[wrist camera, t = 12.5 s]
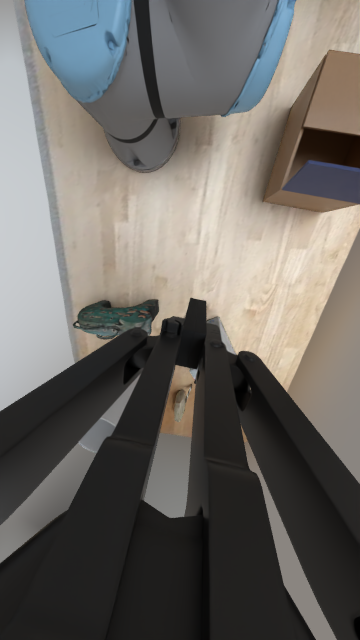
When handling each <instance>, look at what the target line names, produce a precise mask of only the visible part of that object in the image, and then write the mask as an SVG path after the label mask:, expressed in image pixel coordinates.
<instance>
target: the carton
mask: <svg viewBox="0 0 360 640" xmlns="http://www.w3.org/2000/svg"><path fill="white" fill-rule="evenodd" d="M308 160H313V161H319V162H325V163H331V164H337V165H342V166H348V167H354V168H360V54H356V53H349V52H341V51H334V50H329V51H328V53H327V55H325V56H324V58H323V59H322V61H321V62H320V64H319V65H318V67H317V69H316V70H315V72H314V73H313V75H312V76H311V78H310V79H309V81H308V82H307V84H306V86H305V87H304V89H303V90H302V92H301V93H300V95H299V96H298V98H297V99H296V101H295V103H294V104H293V106H292V107H291V111H290V114H289V117H288V120H287V124H286V127H285V130H284V133H283V137H282V140H281V143H280V146H279V149H278V153H277V156H276V159H275V162H274V166H273V169H272V172H271V175H270V179H269V182H268V185H267V188H266V192H265V195H264V198H263V202H267V203H272V204H278V205H284V206H289V207H295V208H300V209H306V210H311V211H317V212H322V213H323V212H328V211H332V210H336V209H341V208H345V207H350V206H354V205H358V204H357V203H352V202H346V201H340V200H335V199H329V198H324V197H318V196H312V195H307V194H301V193H295V192H290V191H284V190H282V187H283V186H284V185H285V184H286V183H287V182H288V181H289V180H290V179H291V178H292V177H293V176H294V175H295V174H296V173H297V172H298V171H299V170H300V169H301V168H302V167H303V165H304V164H305V163H306V162H307V161H308Z"/></svg>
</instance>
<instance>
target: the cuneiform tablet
mask: <svg viewBox="0 0 360 640" xmlns="http://www.w3.org/2000/svg"><path fill="white" fill-rule="evenodd" d="M191 388H192V384H191V386H190V389H189V391H188V394H187V396H186V397H185V391H183V390H181V391H179V392H178V394H177V396H176V399H175V407H174V415H175V421H177V422H180V421H181V418H182V416H183V413H184V411H185V403H186V401H187V398H188V396H189V393H190V391H191Z"/></svg>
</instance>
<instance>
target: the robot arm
mask: <svg viewBox="0 0 360 640" xmlns="http://www.w3.org/2000/svg"><path fill="white" fill-rule="evenodd" d="M295 2H296V0H25V6H26V11H27V16H28V20H29V24H30V27H31V30H32V33H33V36H34V39H35V41H36V43H37V46H38V48H39V50H40V52H41V54H42V56H43V58H44V59H45V61H46V63H47V64H48V66H49V67H50V69H51V70H52V71H53V73H54V74H55V75H56V76H57V77H58V79H59V80H60V81H61V83H62V85H63V86H64V88H65V89H66V90H67V91H68V93H69V94H70V95H71V96H72V97H73V98H74V99H76V100H77V102H78V103H79V104H80V105H81V106H82V107H83V108H84V109H85V110H86V111H87V112H88V113H89V114H90V115H91V116H92V117H93V118H94V119H95V120H96V121H97V122H98V123H99V124H100V125H101V126H102V127H103V129H104V132H105V135H106V138H107V140H108V143H109V145H110V147H111V149H112V150H113V152H114V153H115V155H116V156H117V157H118V158H119V159H120V160H121V161H122V162H123V163H124V164H125V165H126V166H127V167H129V168H130V169H132V170H135V171H137V172H143V173H144V172H152V171H155V170H157V169H159V168H161V167H162V166H163V165H164V164H166V162H167V161H168V160H169V159H170V158H171V156H172V154H173V153H174V151H175V148H176V146H177V143H178V140H179V135H180V124H181V121H180V117H195V116H210V115H221V116H222V117H226V116H228V115H230V114H233V113H241V112H247V111H249V110H251V109H252V108H253V107H254V106H256V105H257V104H258V103H259V102H260V100H261V99H262V97H263V96H264V94H265V92H266V90H267V88H268V86H269V84H270V82H271V80H272V77H273V75H274V72H275V70H276V67H277V65H278V62H279V59H280V56H281V54H282V51H283V48H284V45H285V42H286V39H287V36H288V32H289V29H290V26H291V22H292V19H293V15H294V4H295ZM175 365H179V366H183V367H188V368H192V369H197V368H198V370H197V374H196V378H195V381H194V384H196V387H195V400H194V414H193V427H192V441H191V455H190V469H189V482H188V495H187V505H186V510H185V516H184V517H178V518H169V517H167V516H165V515H164V514H162V513H161V512H159V511H158V510H156V509H155V508H154V507H152V506H151V505H149V504H148V503H146V502H145V501H144V497H145V493H146V488H147V484H148V479H149V475H150V471H151V467H152V463H153V459H154V454H155V450H156V446H157V441H158V437H159V433H160V429H161V425H162V420H163V416H164V412H165V408H166V403H167V399H168V395H169V391H170V387H171V382H172V378H173V374H174V370H175ZM140 374H141V375H140ZM139 375H140V377H139V379H138V381H137V383H136V385H135V387H134V389H133V392H132V394H131V396H130V398H129V400H128V402H127V404H126V406H125V408H124V410H123V413H122V415H121V417H120V419H119V421H118V423H117V425H116V427H115V429H114V431H113V433H112V435H111V436H107V437H106V438H105V439H104V441H103V442H102V444H101V446H100V448H99V450H98V452H97V454H96V456H95V458H94V460H93V462H92V463H91V465H90V467H89V470H88V471H87V473H86V475H85V477H84V479H83V481H82V483H81V485H80V487H79V489H78V491H77V493H76V495H75V497H74V499H73V501H72V503H71V505H70V507H69V509H68V510H67V511H65V512H64V513H62V514H61V515H59V516H58V517H56V518H55V519H54V520H52V521H51V522H50V523H49V524H47V525H46V526H45V527H44V528H42V529H41V530H40V531H39V532H38V533H36V534H35V535H34V536H33V537H32V538H30V539H29V540H28V541H27V542H25V543H24V544H23V545H22V546H21V547H20V548H18V549H17V550H16V551H15V552H13V553H12V554H11V555H10V556H9V557H7V558H6V559H5V560H4V561H3V562H1V563H0V640H316V639H315V637H314V636H313V634H312V632H311V630H310V629H309V627H308V625H307V624H306V622H305V620H304V618H303V617H302V615H301V614H300V612H299V610H298V608H297V607H296V605H295V603H294V602H293V600H292V598H291V596H290V595H289V593H288V591H287V590H286V588H285V586H284V584H283V580H282V575H281V571H280V566H279V562H278V558H277V553H276V548H275V544H274V540H273V535H272V531H271V526H270V522H269V518H268V513H267V508H266V504H265V500H264V495H263V490H262V486H261V483H260V480H259V478H258V476H257V474H256V473H254V472H252V471H250V469H249V466H248V462H247V457H246V451H245V446H244V440H243V435H242V430H241V426H242V428H243V430H244V433H245V435H246V437H247V440H248V442H249V444H250V447H251V449H252V451H253V454H254V456H255V458H256V461H257V463H258V465H259V468H260V470H261V472H262V475H263V477H264V479H265V482H266V484H267V487H268V489H269V491H270V493H271V496H272V498H273V500H274V503H275V505H276V508H277V510H278V512H279V515H280V517H281V519H282V522H283V524H284V526H285V528H286V531H287V533H288V536H289V538H290V540H291V543H292V545H293V547H294V550H295V552H296V554H297V557H298V559H299V561H300V564H301V566H302V569H303V571H304V573H305V575H306V578H307V580H308V582H309V584H310V586H311V589H312V591H313V593H314V595H315V597H316V599H317V602H318V604H319V606H320V608H321V610H322V612H323V614H324V615H325V617H326V619H327V621H328V623H329V625H330V627H331V629H332V631H333V632H334V635H335V636H336V639H337V640H360V484H359V483H358V481H357V480H356V479H355V478H354V476H353V475H352V474H351V473H350V471H349V470H348V469H347V468H346V466H345V465H344V464H343V463H342V461H341V460H340V459H339V457H338V456H337V455H336V454H335V452H334V451H333V450H332V449H331V447H330V446H329V445H328V444H327V442H326V441H325V440H324V439H323V437H322V436H321V435H320V434H319V432H318V431H317V430H316V429H315V427H314V426H313V425H312V423H311V422H310V421H309V420H308V418H307V417H306V416H305V415H304V413H303V412H302V411H301V410H300V408H299V407H298V406H297V405H296V403H295V402H294V401H293V400H292V398H291V397H290V396H289V394H288V393H287V392H286V391H285V389H284V388H283V387H282V386H281V384H280V383H279V382H278V381H277V379H276V378H275V377H274V376H273V374H272V373H271V372H270V371H269V369H268V368H267V367H266V365H265V364H264V363H263V362H262V360H261V359H260V358H259V357H258V356H257V355H255V354H254V353H252V352H249V351H241V352H239V354H238V355H235V354H233V353H231V352H229V351H227V349H226V345H225V344H224V343H223V342H222V339H221V333H220V328H219V327H218V326H217V325H215V324H210V323H206V301H203V300H198V299H193V298H190V302H189V306H188V309H187V313H186V317H185V319H184V318H180V317H175V316H173V317H171V318H167V319H164V320H163V321H162V328H161V333H160V335H158V336H148V333H147V332H146V331H145V330H143V329H140V328H132V329H129V330H127V331H125V332H124V333H122V334H121V335H119V336H117V337H116V338H114V339H113V340H111V341H110V342H108V343H107V344H105V345H103V346H102V347H100V348H99V349H97V350H96V351H94V352H92V353H91V354H89V355H88V356H86V357H85V358H83V359H81V360H80V361H78V362H77V363H75V364H74V365H72V366H71V367H69V368H67V369H66V370H64V371H63V372H61V373H60V374H58V375H57V376H55V377H53V378H52V379H50V380H49V381H47V382H46V383H44V384H42V385H41V386H39V387H38V388H36V389H35V390H33V391H31V392H30V393H28V394H27V395H25V396H24V397H22V398H20V399H19V400H18V401H16V402H14V403H13V404H11V405H10V406H8V407H6V408H5V409H3V410H2V411H0V525H1V524H2V523H3V522H4V521H5V520H6V519H7V518H8V517H9V516H10V515H11V514H12V513H13V512H14V511H15V510H16V509H17V508H18V507H19V506H20V505H21V504H22V503H23V502H24V501H25V500H26V499H27V498H28V497H29V496H30V495H31V493H32V492H33V491H34V490H35V489H36V488H37V487H38V486H39V485H40V483H41V482H42V481H43V480H44V479H45V478H46V477H47V476H48V475H49V474H50V473H51V472H52V470H53V469H54V468H55V467H56V466H57V465H58V464H59V463H60V462H61V461H62V459H63V458H64V457H65V456H66V455H67V454H68V453H69V452H70V451H71V449H72V448H73V447H74V446H75V445H76V444H77V443H78V442H79V441H80V440H81V439H82V438H83V436H84V435H85V434H86V433H87V432H88V431H89V430H90V429H91V428H92V427H93V425H94V424H95V423H96V422H97V421H98V420H99V419H100V418H101V417H102V416H103V415H104V413H105V412H106V411H107V410H108V409H109V408H110V407H111V406H112V405H113V404H114V402H115V401H116V400H117V399H118V398H119V397H120V396H121V395H122V394H123V393H124V391H125V390H126V389H127V388H128V387H129V386H130V385H131V384H132V383H133V382H134V381H135V379H136V378H137V377H138V376H139ZM250 388H251V390H250ZM240 423H241V424H240Z"/></svg>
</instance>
